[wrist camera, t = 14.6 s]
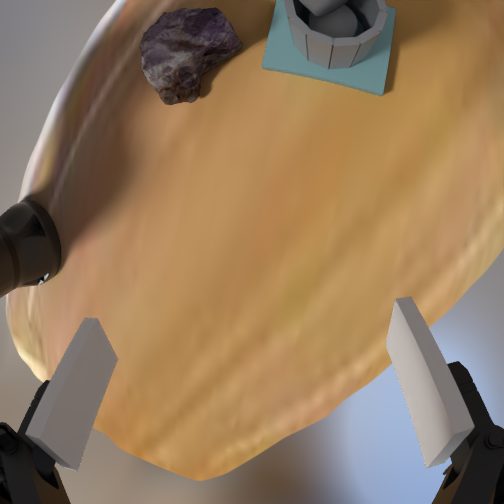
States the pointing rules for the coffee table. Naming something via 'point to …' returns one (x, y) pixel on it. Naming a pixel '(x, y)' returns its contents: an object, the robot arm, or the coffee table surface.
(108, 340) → the robot arm
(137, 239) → the coffee table surface
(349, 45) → the elbow
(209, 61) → the rock
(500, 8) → the coffee table surface
